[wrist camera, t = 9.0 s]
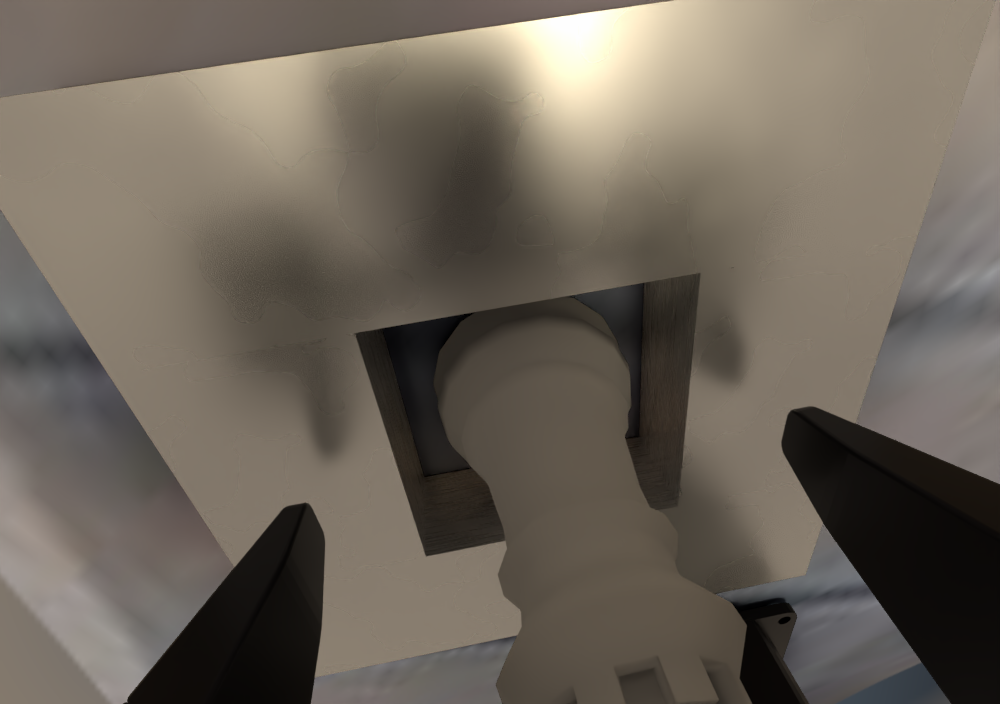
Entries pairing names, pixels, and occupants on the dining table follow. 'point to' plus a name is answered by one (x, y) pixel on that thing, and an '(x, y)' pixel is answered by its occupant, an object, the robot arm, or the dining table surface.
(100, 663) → the dining table surface
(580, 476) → the rook chess piece
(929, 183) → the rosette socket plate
